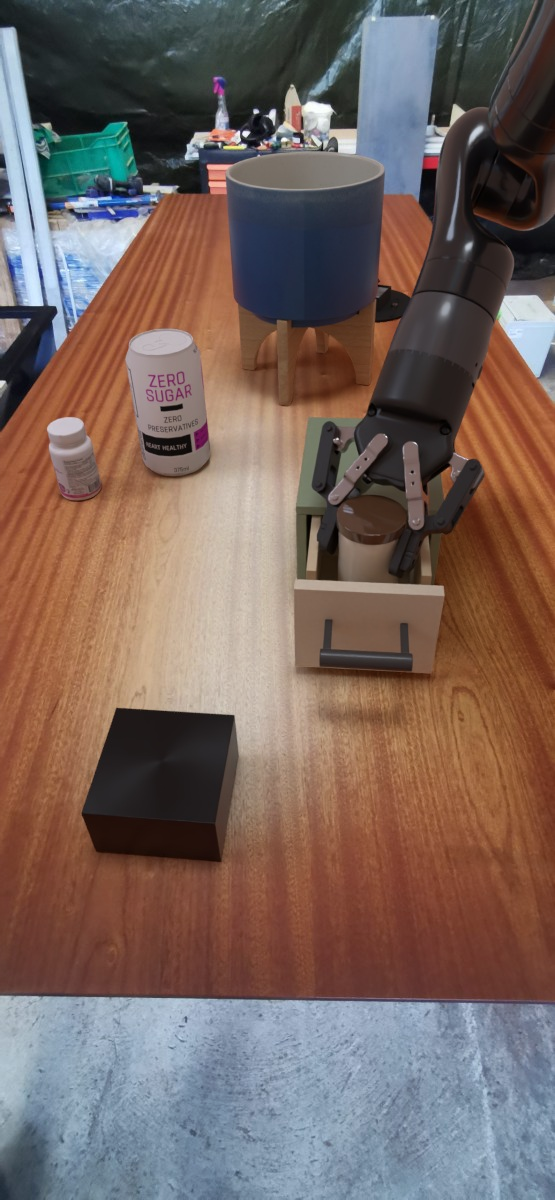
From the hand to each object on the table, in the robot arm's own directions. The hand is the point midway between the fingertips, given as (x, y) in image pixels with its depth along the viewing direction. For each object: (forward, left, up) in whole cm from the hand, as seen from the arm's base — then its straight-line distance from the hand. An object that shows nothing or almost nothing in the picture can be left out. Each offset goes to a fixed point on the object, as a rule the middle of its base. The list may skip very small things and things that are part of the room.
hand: (360, 563), depth 60 cm
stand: (+13, +17, -10) cm, 24 cm away
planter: (+8, -54, -10) cm, 55 cm away
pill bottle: (+32, -23, -10) cm, 41 cm away
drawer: (-1, -1, -9) cm, 9 cm away
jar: (-1, -2, -5) cm, 6 cm away
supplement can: (+22, -30, -10) cm, 38 cm away
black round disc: (-1, -81, -10) cm, 81 cm away
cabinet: (-1, -14, -10) cm, 17 cm away
